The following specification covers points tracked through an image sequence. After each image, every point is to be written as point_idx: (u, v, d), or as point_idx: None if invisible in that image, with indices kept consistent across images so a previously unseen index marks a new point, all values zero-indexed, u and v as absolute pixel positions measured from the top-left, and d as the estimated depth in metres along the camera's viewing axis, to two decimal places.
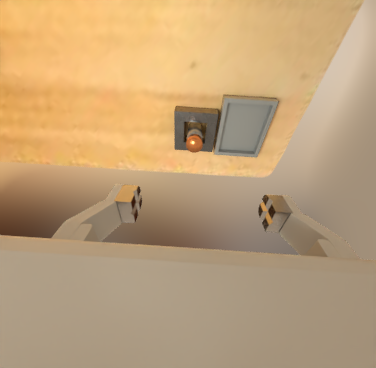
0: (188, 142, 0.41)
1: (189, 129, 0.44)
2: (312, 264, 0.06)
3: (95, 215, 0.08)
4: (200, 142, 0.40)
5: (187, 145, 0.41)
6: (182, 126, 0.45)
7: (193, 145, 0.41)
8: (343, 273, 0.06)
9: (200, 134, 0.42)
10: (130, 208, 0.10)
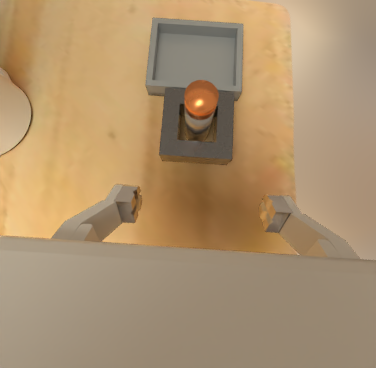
0: (194, 106, 0.19)
1: (188, 129, 0.25)
2: (312, 264, 0.06)
3: (95, 215, 0.08)
4: (194, 83, 0.20)
5: (201, 108, 0.19)
6: (185, 142, 0.26)
7: (201, 97, 0.20)
8: (343, 273, 0.06)
9: None
10: (130, 208, 0.10)
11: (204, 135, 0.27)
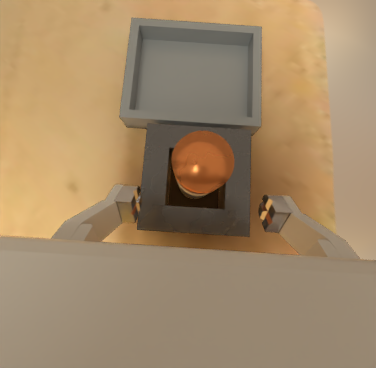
0: (190, 182, 0.10)
1: None
2: (312, 264, 0.06)
3: (95, 214, 0.08)
4: (190, 138, 0.11)
5: (203, 186, 0.10)
6: (177, 210, 0.17)
7: (203, 163, 0.11)
8: (343, 273, 0.06)
9: None
10: (130, 208, 0.10)
11: None
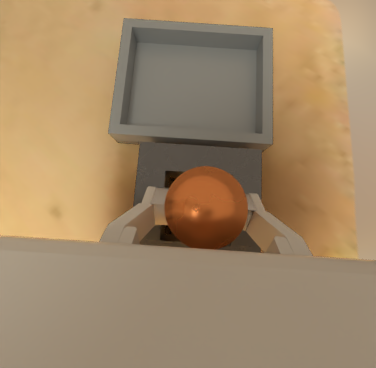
0: (189, 237, 0.08)
1: None
2: (312, 264, 0.06)
3: (136, 217, 0.08)
4: (189, 176, 0.08)
5: (207, 243, 0.08)
6: (175, 246, 0.14)
7: (206, 211, 0.08)
8: (343, 273, 0.06)
9: None
10: None
11: None
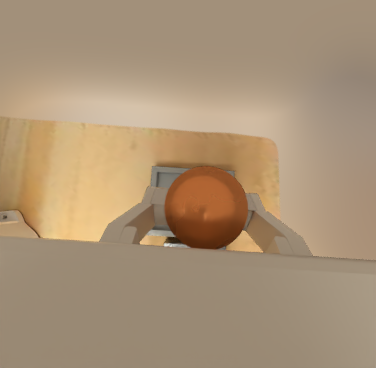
0: (189, 238, 0.08)
1: None
2: (312, 264, 0.06)
3: (136, 217, 0.08)
4: (189, 176, 0.08)
5: (207, 243, 0.08)
6: None
7: (206, 211, 0.08)
8: (343, 273, 0.06)
9: None
10: None
11: None
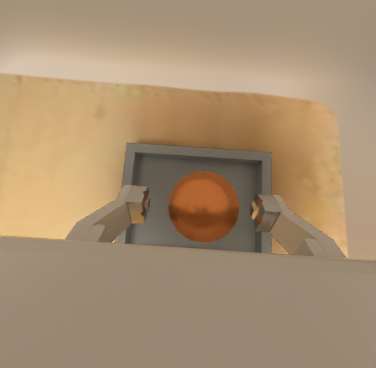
0: (190, 231, 0.09)
1: None
2: (312, 264, 0.06)
3: (107, 215, 0.08)
4: (189, 180, 0.10)
5: (204, 236, 0.09)
6: None
7: (204, 209, 0.09)
8: (343, 273, 0.06)
9: None
10: (140, 209, 0.10)
11: None
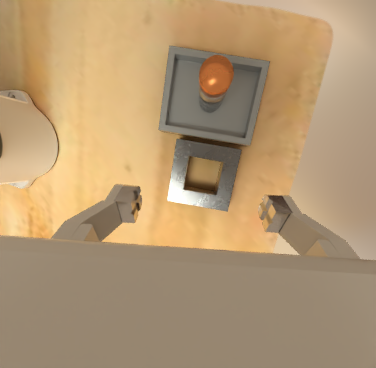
0: (208, 86, 0.20)
1: (202, 100, 0.26)
2: (312, 264, 0.06)
3: (95, 214, 0.08)
4: (210, 59, 0.19)
5: (214, 89, 0.20)
6: (190, 193, 0.30)
7: (216, 76, 0.20)
8: (343, 273, 0.06)
9: None
10: (130, 208, 0.10)
11: (217, 107, 0.27)
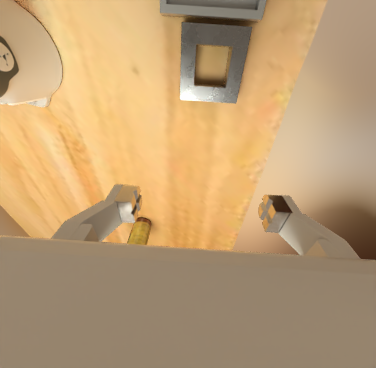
0: None
1: None
2: (312, 264, 0.06)
3: (95, 214, 0.08)
4: None
5: None
6: (200, 88, 0.32)
7: None
8: (343, 273, 0.06)
9: None
10: (130, 208, 0.10)
11: None
